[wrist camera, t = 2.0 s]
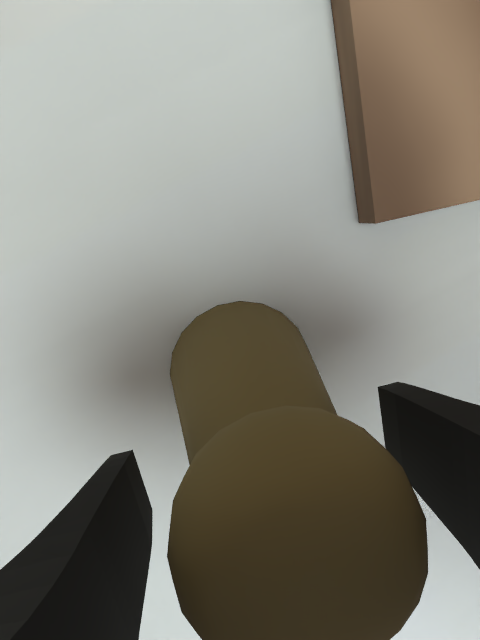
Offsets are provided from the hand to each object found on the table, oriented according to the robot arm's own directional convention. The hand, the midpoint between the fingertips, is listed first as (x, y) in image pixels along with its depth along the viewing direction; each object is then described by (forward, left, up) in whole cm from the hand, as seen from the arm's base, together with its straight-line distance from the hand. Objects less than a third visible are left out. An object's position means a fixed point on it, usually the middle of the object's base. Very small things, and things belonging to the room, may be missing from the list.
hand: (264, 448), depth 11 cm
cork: (0, 0, -6) cm, 6 cm away
